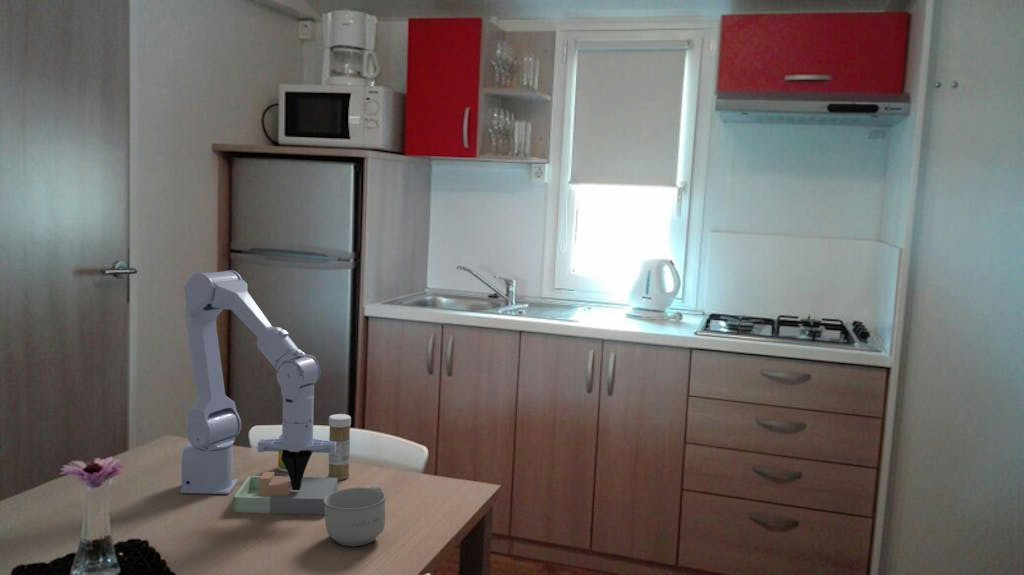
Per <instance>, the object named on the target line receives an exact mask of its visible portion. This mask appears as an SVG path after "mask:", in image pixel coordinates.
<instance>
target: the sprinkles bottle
mask: <svg viewBox="0 0 1024 575" xmlns="http://www.w3.org/2000/svg"><path fill="white" fill-rule="evenodd" d="M351 425H352V417H351V416H350V415H349V414H345V413H337V414H335V413H334V414H331V415H330V416H329V418H328V427H329V439H328V441H335V442H336V453H335V454H329V453H328V473H327V476H328V477H327V478H338V481H342V480H346V479H348V478H349V477H350V458H351V457H350V455H351V452H350V451H351V438H350V436H351V433H350V432H351V429H350V428H351Z"/></svg>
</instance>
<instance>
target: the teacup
mask: <svg viewBox="0 0 1024 575" xmlns="http://www.w3.org/2000/svg"><path fill="white" fill-rule="evenodd" d="M386 499H387V496H386V494H385V492H384V491H383V489H382V487H381V486H378V485H372V486H370V487H349V488H343V489H338V491H335V492H332V493H330V494H328V495H327V496H326V497H325V498H324V505H325V514H324V521H325V522H324V523H325V528H326V531H327V532H326V533H327V534H328V536H329V537H330V538H331V539H332V540H334V541H336V543H338V544H340V545H342V546H345V547H359V546H365V545H367V544H370V543H372V542H373V541H375V540H376V538H377V537H378V536H379V535H381V533H382V532H383V531H384V529H385V525H386Z"/></svg>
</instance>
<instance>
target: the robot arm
mask: <svg viewBox="0 0 1024 575" xmlns="http://www.w3.org/2000/svg"><path fill="white" fill-rule="evenodd" d="M183 286H184V287H183V289H184V296H185V304H186V305H185V311H184V312H185V321H186V322H185V323H186V328H187V338H188V344H189V345H188V346H189V351H190V359H191V366H192V375H193V380H194V387H195V389H194V390H195V396H196V400H195V401H194V403H193V404H192V406H191V407H190V408H189V409H188V410H187V412H186V413H187V422H186V423H187V424H186V429H185V432H186V434H185V435H186V437H187V441H189V444H186V445H185V447H184V449H183V452H182V455H181V488H180V489H181V490H179V492H180V493H181V494H203V495H204V494H206V495H207V494H210V495H211V494H213V495H228V494H229V495H230V493H231V491H232V490H233V489H234V488H235V486H236V485H237V483H238V482H239V479H238V478H233V471H234V469H233V465H234V464H233V463H234V462H233V460H234V459H233V458H234V457H233V455H234V454H233V452H234V451H233V450H234V447H233V445H234V443H235V442H236V437H237V436H239V434H240V432H241V430H242V420H241V417H240V415H239V413H238V411H237V406H236V402H235V401H234V400H232V399H231V398H230V397H228V396H227V395H226V390H225V382H224V375H223V374H224V373H223V369H222V368H223V367H222V361H221V352H220V346H219V337H218V331H217V324H216V319H217V317H218V316H219V315H220V314H221V312H222V311H223V310H229V311H232V312H233V314H235V315H236V316H237V317H238V318H239V320H240V321H241V322H242V323H244V325H245V326H246V327H247V328H248V329H249V331H251V332H252V333H253V335H255V337H257V342H256V346H257V348H258V350H259V351H260V352H261V353H262V354H263V355H264V357H265V358H266V359H267V361H269V363H270V364H271V365H272V366H273V368H274V369H275V370H276V375H275V376H276V381H277V383H278V384H279V385H278V386H280V391H281V392H280V395H281V397H282V424H281V425H282V428H281V431H282V432H281V435H282V439H279V438H273V439H271V438H269V439H259V441H258V442H257V453H264V452H278V453H279V452H283V453H282V457H281V458H282V462H283V463H284V465H285V467H286V469H287V471H288V472H287V474H288V477H290V480H291V485H292V490H300V488H301V483H302V478H303V477H304V474H305V471H306V468H307V465H308V463H309V461H310V460H311V456H312V454H314V453H318V454H319V453H322V454H323V453H324V454H325V453H326V454H327V453H328V455H329V454H335V453H336V442H335V441H329V440H322V439H317V438H316V439H315V438H314V406H315V404H314V402H315V400H314V399H315V383H317V382H318V381H319V380H320V377H321V374H322V373H321V372H322V371H321V365H320V363H319V362H318V360H317V359H316V357H315V355H311V354H306V353H305V352H304V351H302V349H301V348H299V347H298V346H297V345H296V344H295V342H294V341H293V340H292V339H291V337H290V336H289V332H288V331H287V330H286V329H283V328H282V327H279V326H272V324H271V322H270V321H269V320H268V318H267V317H266V315H265V314H264V312H263V311H262V310H261V308H260V307H259V306H258V304H257V303H256V301H255V300H254V299H253V297H252V296H251V295H250V293H249V291H248V283H247V282H246V281H245V280H244V279H243V278H242V276H241V274H240V273H238V272H237V271H235V270H234V269H233V270H232V269H230V270H229V269H228V270H224V271H216V272H215V271H213V272H196V273H194V274H192V275H191V277H189V279H188V280H187V282H186V283H185V284H184V285H183Z"/></svg>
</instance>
